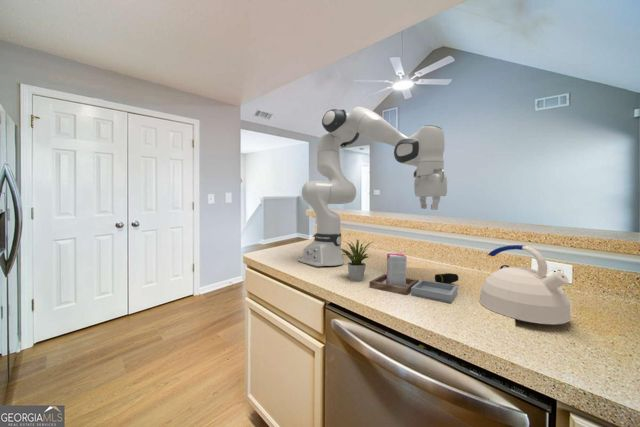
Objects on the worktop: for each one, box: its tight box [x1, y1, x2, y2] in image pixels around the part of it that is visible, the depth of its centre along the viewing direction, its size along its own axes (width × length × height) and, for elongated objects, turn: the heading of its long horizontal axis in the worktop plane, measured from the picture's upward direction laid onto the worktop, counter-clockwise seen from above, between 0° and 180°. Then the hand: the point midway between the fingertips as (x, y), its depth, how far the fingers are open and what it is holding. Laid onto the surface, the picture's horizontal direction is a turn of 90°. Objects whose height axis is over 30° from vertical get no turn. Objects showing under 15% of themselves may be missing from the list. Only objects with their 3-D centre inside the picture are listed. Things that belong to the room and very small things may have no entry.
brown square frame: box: [368, 273, 420, 296], centre depth 91 cm, size 13×13×2 cm
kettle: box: [478, 244, 572, 326], centre depth 72 cm, size 20×21×18 cm
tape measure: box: [434, 272, 459, 284], centre depth 94 cm, size 7×7×4 cm
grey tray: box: [410, 279, 459, 304], centre depth 83 cm, size 12×12×2 cm
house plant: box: [339, 239, 373, 282], centre depth 100 cm, size 14×14×16 cm
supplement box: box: [385, 253, 407, 287], centre depth 91 cm, size 6×6×12 cm
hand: (428, 209), depth 93 cm, fingers open, 8 cm apart
